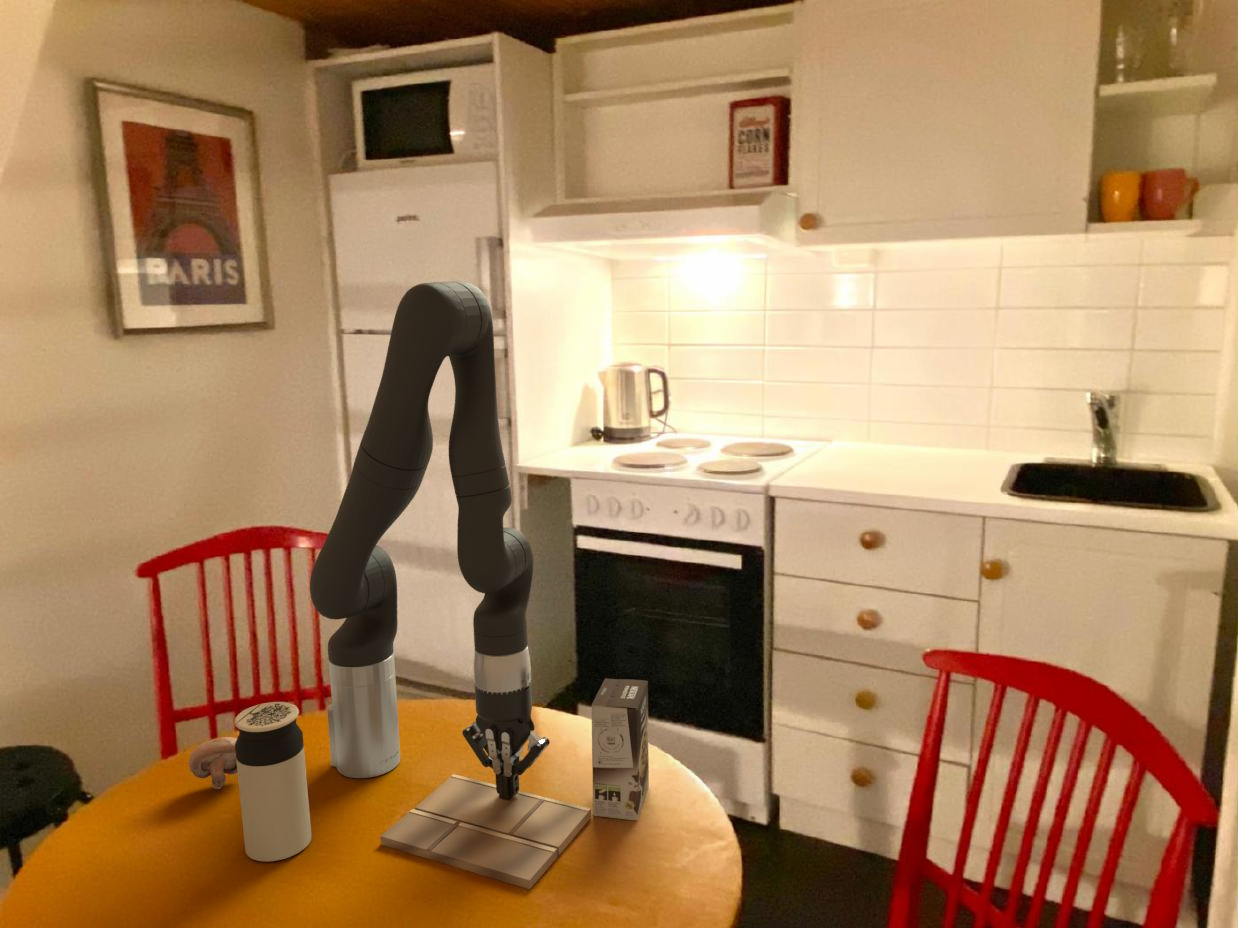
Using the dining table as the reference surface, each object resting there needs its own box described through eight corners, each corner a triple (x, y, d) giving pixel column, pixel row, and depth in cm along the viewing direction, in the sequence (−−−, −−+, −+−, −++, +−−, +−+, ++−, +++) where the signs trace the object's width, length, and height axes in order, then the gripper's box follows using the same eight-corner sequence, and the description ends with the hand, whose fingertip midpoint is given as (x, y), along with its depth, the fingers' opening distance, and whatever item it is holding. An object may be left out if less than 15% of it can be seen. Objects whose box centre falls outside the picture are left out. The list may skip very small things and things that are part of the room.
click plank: (415, 815, 124) (414, 806, 124) (454, 781, 132) (453, 773, 132) (558, 855, 115) (558, 846, 114) (591, 816, 123) (590, 808, 122)
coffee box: (639, 821, 122) (637, 708, 119) (591, 816, 123) (589, 704, 120) (650, 785, 130) (649, 679, 127) (606, 781, 132) (604, 675, 129)
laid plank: (380, 844, 117) (380, 835, 117) (413, 817, 123) (412, 808, 123) (529, 889, 108) (529, 879, 108) (557, 857, 114) (556, 847, 114)
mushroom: (184, 799, 128) (178, 746, 127) (204, 776, 134) (199, 725, 133) (238, 799, 128) (233, 746, 127) (255, 776, 134) (251, 725, 133)
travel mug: (324, 833, 120) (314, 705, 117) (284, 869, 113) (271, 733, 109) (274, 822, 123) (262, 696, 119) (231, 856, 115) (217, 724, 112)
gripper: (445, 681, 122) (452, 800, 125) (531, 697, 116) (536, 821, 120) (476, 660, 129) (482, 773, 132) (559, 675, 123) (563, 793, 126)
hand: (508, 796), depth 126 cm, fingers closed
